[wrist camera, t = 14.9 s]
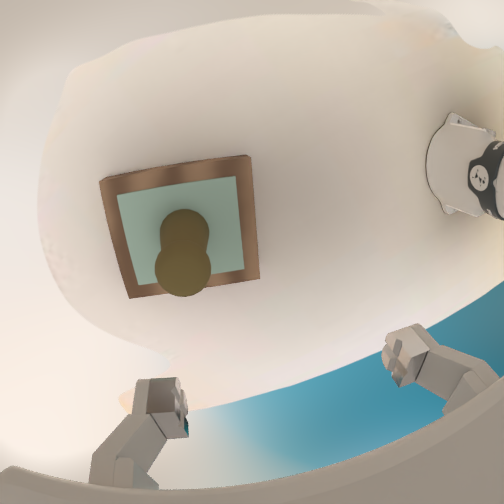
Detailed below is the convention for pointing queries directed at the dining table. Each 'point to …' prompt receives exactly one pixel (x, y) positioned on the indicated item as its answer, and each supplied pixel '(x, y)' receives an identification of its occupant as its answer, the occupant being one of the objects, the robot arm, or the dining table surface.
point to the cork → (183, 253)
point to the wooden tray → (175, 198)
